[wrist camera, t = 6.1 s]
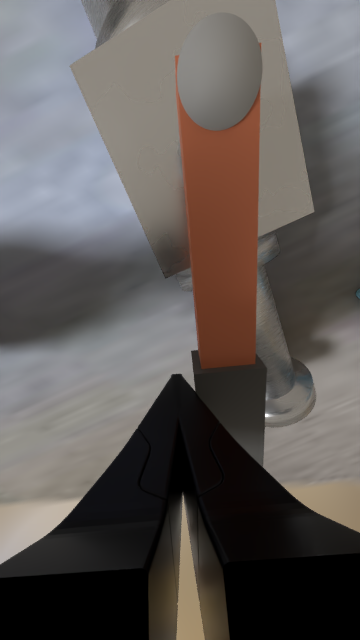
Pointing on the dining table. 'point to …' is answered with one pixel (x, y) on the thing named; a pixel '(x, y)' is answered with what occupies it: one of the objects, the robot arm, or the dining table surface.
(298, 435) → the dining table surface
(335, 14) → the dining table surface
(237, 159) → the valve lever
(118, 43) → the valve manifold
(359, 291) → the chair
